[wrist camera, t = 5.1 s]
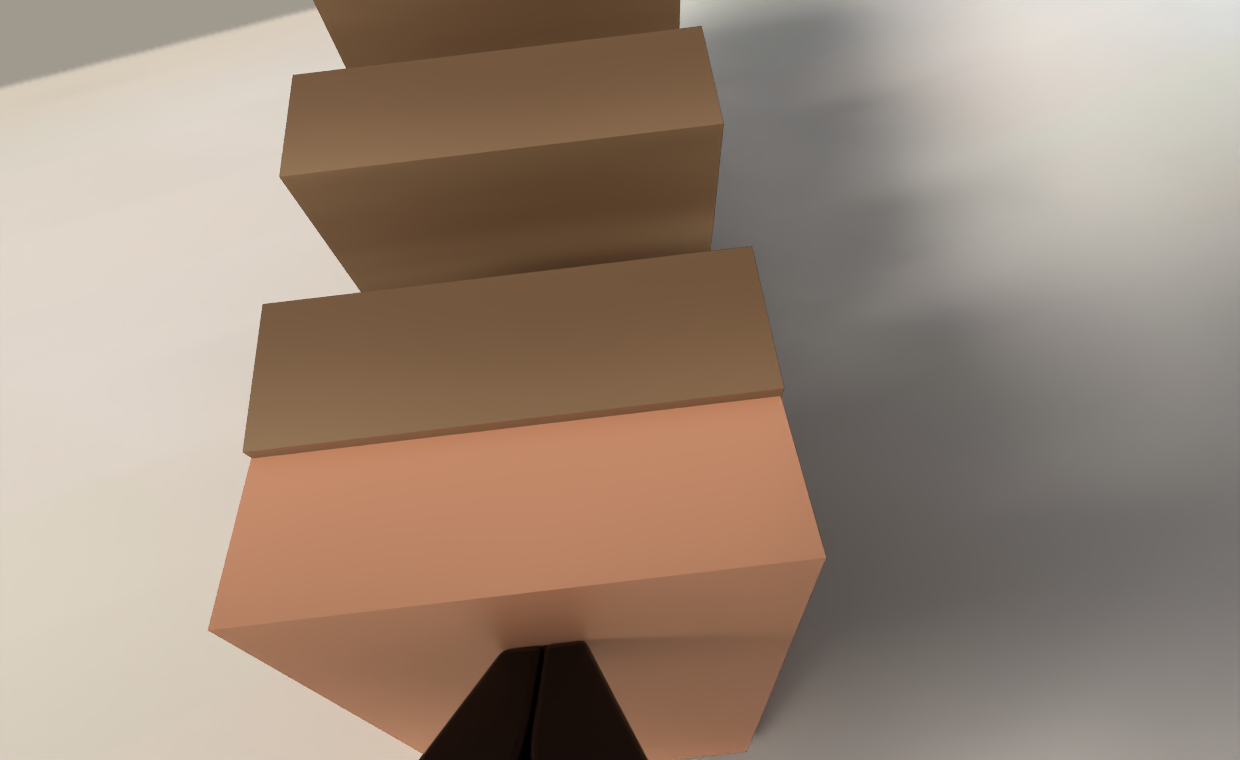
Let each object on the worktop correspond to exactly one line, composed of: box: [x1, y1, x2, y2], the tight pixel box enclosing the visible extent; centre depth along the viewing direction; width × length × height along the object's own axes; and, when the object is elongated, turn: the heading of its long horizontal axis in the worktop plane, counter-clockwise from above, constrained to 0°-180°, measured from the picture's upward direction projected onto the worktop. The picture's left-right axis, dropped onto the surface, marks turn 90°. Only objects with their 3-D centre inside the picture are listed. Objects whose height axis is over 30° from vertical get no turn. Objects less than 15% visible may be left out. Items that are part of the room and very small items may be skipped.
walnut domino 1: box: [313, 0, 680, 69], centre depth 14 cm, size 2×5×9 cm, turn 96°
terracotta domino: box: [208, 396, 826, 760], centre depth 10 cm, size 2×5×9 cm, turn 97°
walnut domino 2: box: [279, 26, 724, 292], centre depth 12 cm, size 2×5×9 cm, turn 96°
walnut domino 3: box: [243, 246, 784, 458], centre depth 11 cm, size 2×5×9 cm, turn 96°
